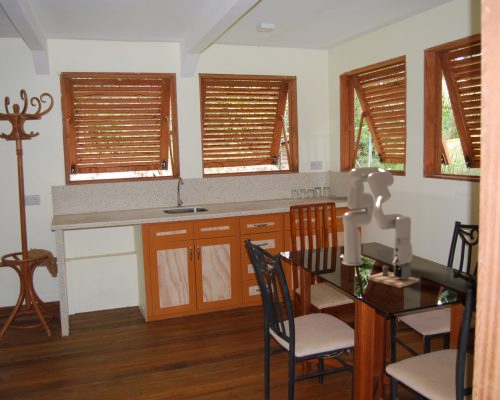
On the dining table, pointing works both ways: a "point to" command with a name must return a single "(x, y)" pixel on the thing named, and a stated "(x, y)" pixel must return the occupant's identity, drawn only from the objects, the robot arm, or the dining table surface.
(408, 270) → the gray cube
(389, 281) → the board
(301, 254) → the dining table surface
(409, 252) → the robot arm
